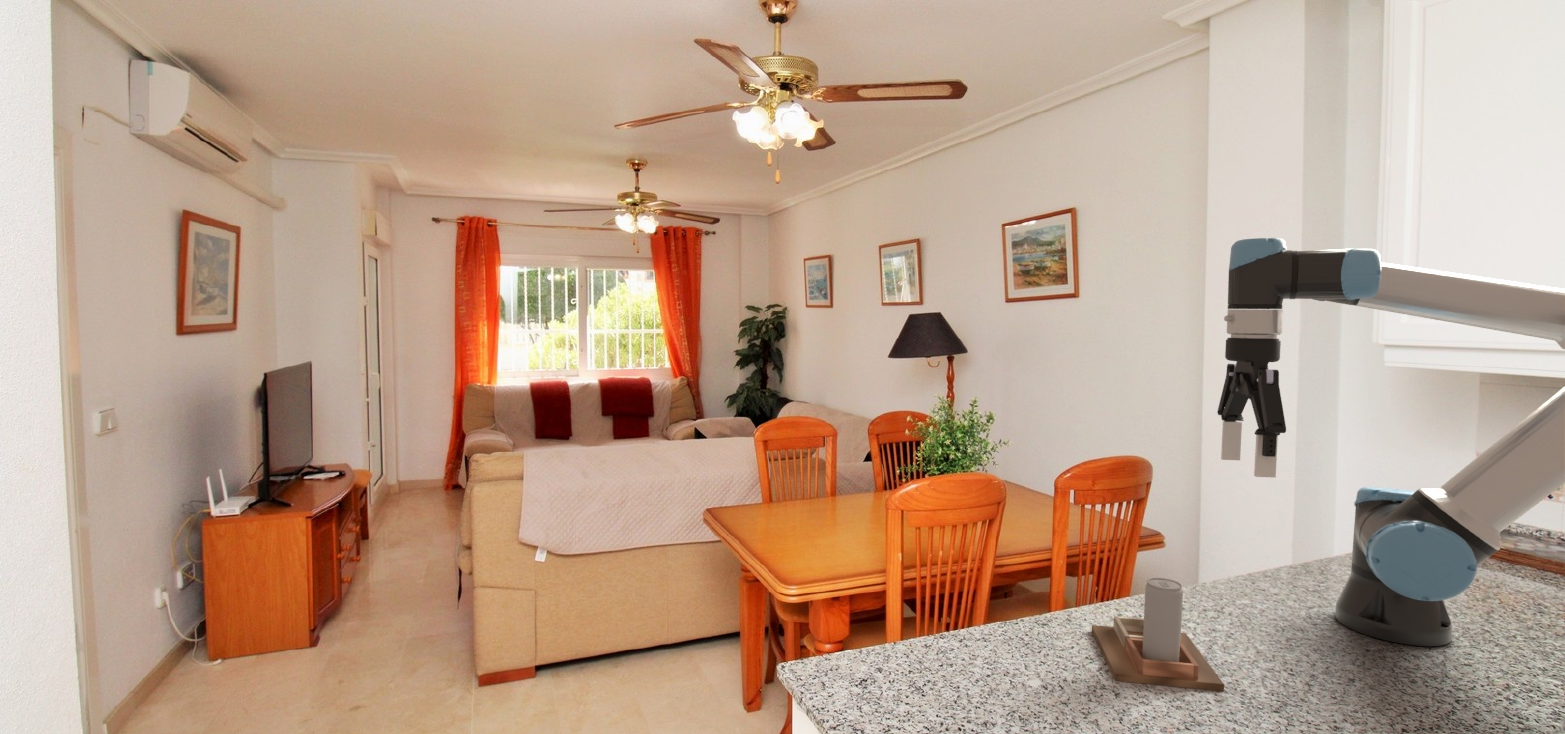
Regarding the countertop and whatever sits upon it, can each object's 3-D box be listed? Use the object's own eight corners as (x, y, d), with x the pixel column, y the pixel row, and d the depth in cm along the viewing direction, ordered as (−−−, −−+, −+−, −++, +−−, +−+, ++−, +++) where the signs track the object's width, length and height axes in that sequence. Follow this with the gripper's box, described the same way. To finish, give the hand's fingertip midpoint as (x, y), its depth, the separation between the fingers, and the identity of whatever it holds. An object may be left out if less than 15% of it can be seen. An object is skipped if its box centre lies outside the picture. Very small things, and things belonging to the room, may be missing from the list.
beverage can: (1173, 658, 114) (1177, 578, 113) (1183, 673, 109) (1187, 590, 108) (1138, 655, 115) (1142, 576, 114) (1146, 670, 110) (1150, 587, 109)
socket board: (1185, 639, 123) (1186, 620, 123) (1223, 691, 106) (1224, 669, 106) (1091, 631, 126) (1092, 613, 126) (1114, 680, 109) (1115, 659, 109)
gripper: (1200, 333, 137) (1195, 452, 139) (1260, 339, 113) (1253, 483, 114) (1246, 334, 136) (1241, 454, 138) (1317, 339, 111) (1309, 485, 113)
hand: (1246, 468), depth 126 cm, fingers open, 13 cm apart
